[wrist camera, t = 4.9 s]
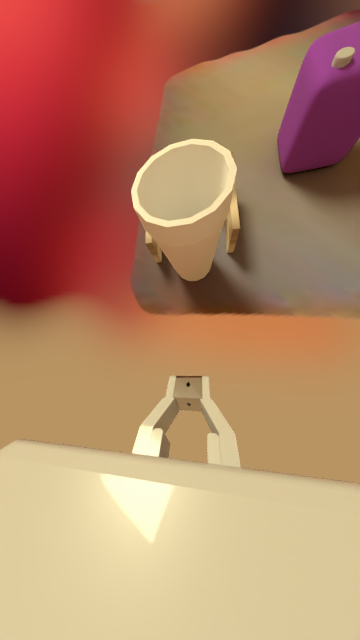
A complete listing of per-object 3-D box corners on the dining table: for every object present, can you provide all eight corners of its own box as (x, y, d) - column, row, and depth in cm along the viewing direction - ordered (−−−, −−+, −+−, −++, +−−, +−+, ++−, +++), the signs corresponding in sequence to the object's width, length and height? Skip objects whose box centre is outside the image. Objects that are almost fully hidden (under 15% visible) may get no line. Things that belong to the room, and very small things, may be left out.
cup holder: (233, 252, 24) (241, 224, 18) (156, 262, 26) (143, 240, 21) (227, 192, 26) (232, 152, 21) (157, 207, 28) (146, 174, 23)
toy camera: (320, 111, 25) (390, -32, 16) (352, 163, 23) (462, 27, 13) (260, 134, 27) (290, 18, 17) (282, 186, 24) (333, 79, 14)
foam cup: (159, 264, 26) (114, 187, 13) (197, 233, 26) (188, 124, 13) (189, 300, 23) (170, 247, 11) (231, 266, 23) (262, 171, 11)
